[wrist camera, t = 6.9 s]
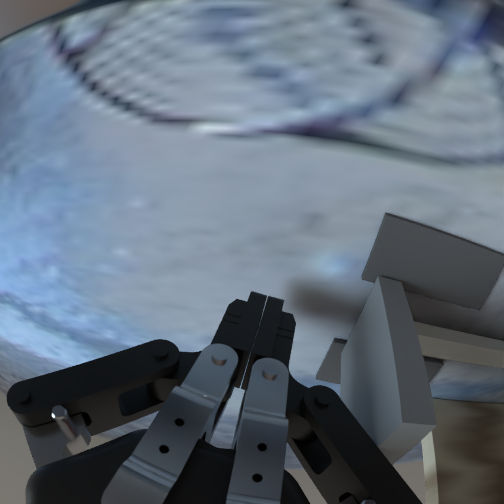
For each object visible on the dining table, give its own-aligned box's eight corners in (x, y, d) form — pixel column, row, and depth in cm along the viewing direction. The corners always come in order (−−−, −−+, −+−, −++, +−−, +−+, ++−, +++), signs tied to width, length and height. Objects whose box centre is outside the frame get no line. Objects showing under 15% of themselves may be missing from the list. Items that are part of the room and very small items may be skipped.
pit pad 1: (385, 212, 12) (386, 215, 12) (505, 254, 12) (507, 257, 11) (361, 275, 14) (362, 279, 14) (477, 306, 13) (479, 310, 13)
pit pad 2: (334, 338, 16) (334, 342, 16) (442, 360, 15) (443, 363, 15) (315, 375, 17) (315, 379, 17) (416, 393, 17) (417, 396, 16)
